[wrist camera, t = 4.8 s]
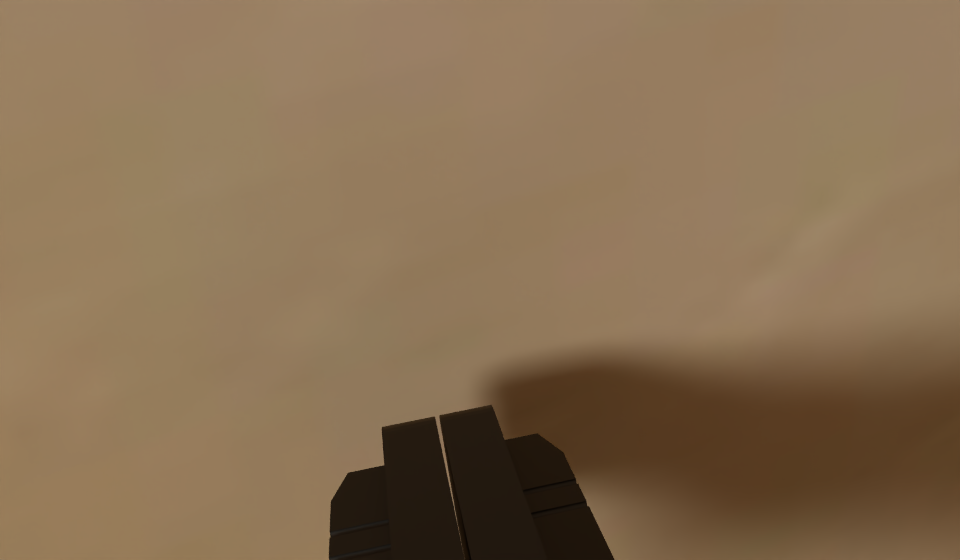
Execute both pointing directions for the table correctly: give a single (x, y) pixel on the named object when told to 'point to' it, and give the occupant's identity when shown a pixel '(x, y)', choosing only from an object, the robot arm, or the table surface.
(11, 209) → the table surface
